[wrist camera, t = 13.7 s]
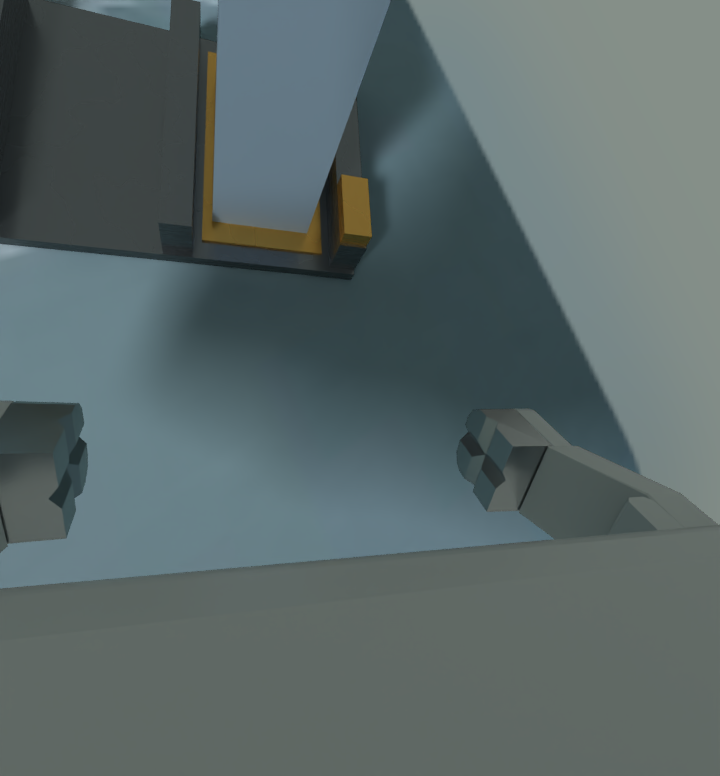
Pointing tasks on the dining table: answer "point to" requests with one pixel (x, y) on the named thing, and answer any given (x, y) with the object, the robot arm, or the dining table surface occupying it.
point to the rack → (141, 148)
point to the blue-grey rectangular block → (284, 103)
